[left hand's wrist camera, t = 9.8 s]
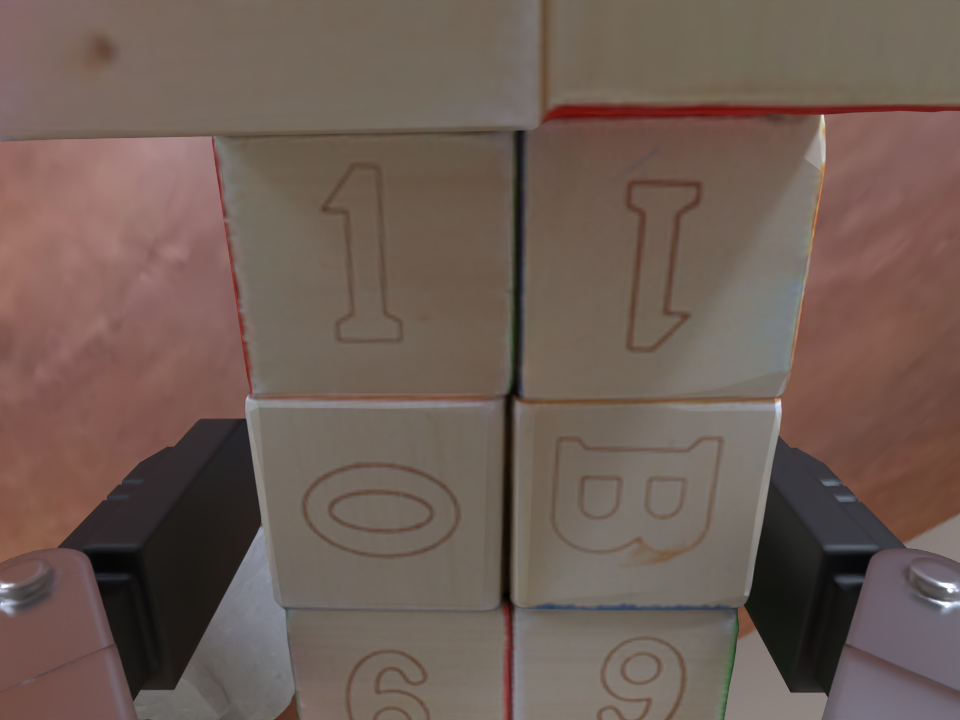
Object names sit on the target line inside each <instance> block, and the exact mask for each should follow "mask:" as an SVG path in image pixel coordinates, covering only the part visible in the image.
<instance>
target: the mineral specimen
mask: <svg viewBox="0 0 960 720" xmlns="http://www.w3.org/2000/svg"><path fill="white" fill-rule="evenodd" d="M294 694H295V687H294V680H293V674H292V669H291V662H290V655H289V648H288V641H287V629H286V612H285V609H283V608H282V607H281V606H279V605H278V604H277V603H276V601H275V599H274V596H273V590H272V583H271V577H270V570H269V564H268V557H267V551H266V545H265V538H264V532H263V526H261V527H260V528H259V530H258V532H257V534H256V536H255V538H254V540H253V542H252V544H251V546H250V548H249V550H248V552H247V554H246V555H245V557H244V559H243V561H242V563H241V565H240V567H239V569H238V571H237V572H236V574H235V576H234V578H233V580H232V582H231V584H230V586H229V588H228V589H227V591H226V593H225V595H224V597H223V599H222V601H221V603H220V605H219V607H218V608H217V610H216V612H215V614H214V616H213V618H212V620H211V622H210V624H209V625H208V627H207V629H206V631H205V633H204V635H203V637H202V639H201V641H200V642H199V644H198V646H197V648H196V650H195V652H194V654H193V656H192V658H191V660H190V661H189V663H188V665H187V667H186V669H185V671H184V673H183V675H182V677H181V678H180V680H179V682H178V684H177V686H176V688H175V690H140V692H139V693H138V695H137V697H136V699H135V700H134V702H133V703H134V707H135V710H136V713H137V717H138V720H274V719H275V718H276V717H278V716H279V715H280V714H281V713H282V712H283V711H284V710H285V709H286V708H287V707H288V705H289V704H290V702H291V699H292V696H293V695H294Z"/></svg>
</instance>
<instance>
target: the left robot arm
mask: <svg viewBox="0 0 960 720" xmlns="http://www.w3.org/2000/svg"><path fill="white" fill-rule="evenodd" d="M260 522H261V512H260V506H259V499H258V493H257V486H256V480H255V473H254V466H253V460H252V453H251V446H250V440H249V433H248V426H247V420H246V419H200V420H199V421H197V422H196V423H195V425H194V426H193V427H192V428H191V429H190V430H189V431H188V432H187V433H186V434H185V436H184V437H183V438H182V439H181V440H180V441H179V442H178V443H177V444H176V445H175V446H174V447H166V448H165V449H163V450H161V451H159V452H158V453H156V454H154V455H152V456H151V457H149V458H147V459H145V460H144V461H142V462H140V463H139V464H138V465H137V466H136V467H135V468H134V469H133V470H132V471H131V472H130V473H129V474H128V475H127V476H126V477H125V479H124V480H123V481H122V485H118V486H117V487H116V488H115V489H114V490H113V491H112V492H111V493H110V494H109V495H108V496H107V500H103V501H102V502H101V503H100V504H99V505H98V506H97V507H96V508H95V509H94V511H93V512H92V513H91V514H90V515H89V516H88V517H87V518H86V519H85V520H84V521H83V522H82V523H81V524H80V525H79V526H78V527H77V528H76V529H75V530H74V531H73V532H72V533H71V534H70V535H69V536H68V537H67V538H66V539H65V540H64V541H63V543H62V544H61V545H60V546H59V547H58V548H51V549H43V550H38V551H33V552H29V553H26V554H22V555H19V556H16V557H14V558H11V559H8V560H6V561H4V562H2V563H0V720H138V717H137V713H136V710H135V707H134V703H133V702H134V700H135V699H136V697H137V695H138V693H139V692H140V690H175V688H176V686H177V684H178V682H179V680H180V678H181V677H182V675H183V673H184V671H185V669H186V667H187V665H188V663H189V661H190V660H191V658H192V656H193V654H194V652H195V650H196V648H197V646H198V644H199V642H200V641H201V639H202V637H203V635H204V633H205V631H206V629H207V627H208V625H209V624H210V622H211V620H212V618H213V616H214V614H215V612H216V610H217V608H218V607H219V605H220V603H221V601H222V599H223V597H224V595H225V593H226V591H227V589H228V588H229V586H230V584H231V582H232V580H233V578H234V576H235V574H236V572H237V571H238V569H239V567H240V565H241V563H242V561H243V559H244V557H245V555H246V554H247V552H248V550H249V548H250V546H251V544H252V542H253V540H254V538H255V536H256V534H257V532H258V530H259V526H260ZM744 606H745V608H746V610H747V612H748V614H749V615H750V617H751V619H752V621H753V623H754V625H755V627H756V629H757V630H758V632H759V634H760V636H761V638H762V640H763V642H764V643H765V645H766V647H767V649H768V651H769V653H770V655H771V657H772V658H773V660H774V662H775V664H776V666H777V668H778V670H779V672H780V673H781V675H782V677H783V679H784V681H785V683H786V685H787V687H788V688H789V690H790V692H791V693H794V692H795V693H798V692H799V693H803V692H804V693H809V692H810V693H812V692H814V693H815V692H818V693H820V692H823V693H826V695H827V697H828V700H827V703H826V707H825V710H824V713H823V717H822V720H960V563H958V562H956V561H954V560H952V559H949V558H946V557H944V556H941V555H938V554H934V553H931V552H927V551H922V550H917V549H909V548H906V547H905V546H904V545H903V544H902V543H901V542H900V541H899V540H898V539H897V538H896V537H895V536H894V535H893V534H892V532H891V531H890V530H889V529H888V528H887V527H886V526H885V525H884V524H883V523H882V522H881V521H880V520H879V519H878V518H877V517H876V516H875V515H874V514H873V513H872V512H871V511H870V510H869V509H868V508H867V507H866V506H865V505H864V504H863V503H862V502H858V498H857V497H856V496H855V495H854V494H853V493H852V492H851V491H850V490H849V489H848V487H847V486H843V485H842V481H841V480H840V479H839V478H838V477H837V476H836V475H835V474H834V473H833V472H832V471H831V470H830V469H829V468H828V467H827V466H826V465H825V464H824V463H822V462H820V461H819V460H817V459H815V458H813V457H812V456H810V455H808V454H806V453H805V452H803V451H801V450H799V449H798V448H790V447H789V446H788V445H787V444H786V443H785V442H784V441H783V440H782V439H781V438H780V436H779V435H778V440H777V444H776V449H775V454H774V458H773V463H772V469H771V475H770V482H769V488H768V494H767V500H766V506H765V512H764V518H763V524H762V529H761V534H760V539H759V544H758V549H757V554H756V559H755V565H754V572H753V579H752V585H751V590H750V594H749V597H748V600H747V602H746V603H745V604H744Z"/></svg>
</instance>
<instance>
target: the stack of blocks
mask: <svg viewBox="0 0 960 720" xmlns="http://www.w3.org/2000/svg"><path fill="white" fill-rule="evenodd" d="M884 111H918V112H938V111H960V0H0V141H24V140H50V139H93V138H144V137H195V136H212V143H213V151H214V159H215V166H216V172H217V178H218V184H219V191H220V198H221V204H222V211H223V218H224V224H225V231H226V238H227V244H228V251H229V257H230V264H231V270H232V277H233V283H234V290H235V297H236V303H237V310H238V317H239V324H240V331H241V338H242V345H243V352H244V359H245V365H246V371H247V377H248V381H249V385H250V390H251V391H250V393H249V394H248V396H247V398H246V403H245V413H246V420H247V426H248V433H249V440H250V446H251V453H252V460H253V466H254V473H255V480H256V486H257V493H258V499H259V506H260V512H261V519H262V525H263V532H264V538H265V545H266V551H267V557H268V564H269V570H270V577H271V583H272V590H273V596H274V599H275V601H276V603H277V604H278V605H279V606H281V607H282V608H283V609H285V612H286V629H287V641H288V648H289V655H290V662H291V669H292V674H293V680H294V687H295V695H296V704H297V712H298V716H299V719H300V720H724V717H725V710H726V704H727V698H728V691H729V685H730V681H731V675H732V671H733V666H734V659H735V653H736V643H737V636H738V631H739V623H738V610H737V608H739V607H741V606H743V605H744V604H745V603H746V602H747V600H748V597H749V594H750V590H751V585H752V579H753V572H754V565H755V559H756V554H757V549H758V544H759V539H760V534H761V529H762V524H763V518H764V512H765V506H766V500H767V494H768V488H769V482H770V475H771V469H772V463H773V458H774V454H775V449H776V444H777V440H778V435H779V429H780V422H781V415H782V410H781V399H780V398H781V396H782V394H783V392H784V390H785V388H786V386H787V384H788V381H789V377H790V373H791V371H792V368H793V365H794V352H795V347H796V342H797V338H798V333H799V327H800V321H801V316H802V310H803V304H804V298H805V293H806V286H807V280H808V273H809V266H810V259H811V252H812V246H813V239H814V233H815V227H816V221H817V215H818V209H819V203H820V197H821V191H822V185H823V179H824V173H825V122H824V116H823V115H825V114H839V113H853V112H884Z"/></svg>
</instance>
